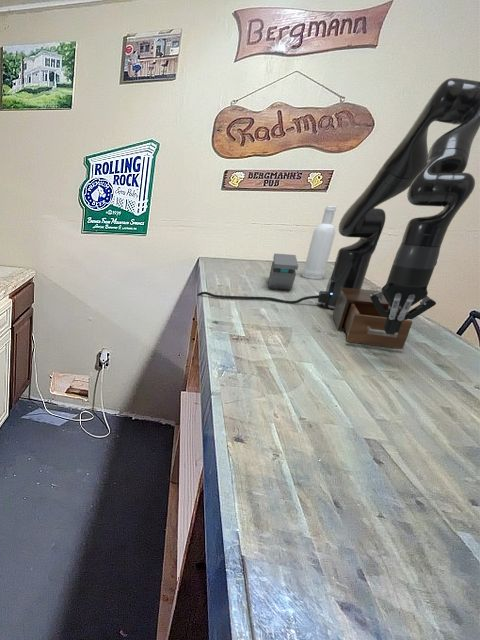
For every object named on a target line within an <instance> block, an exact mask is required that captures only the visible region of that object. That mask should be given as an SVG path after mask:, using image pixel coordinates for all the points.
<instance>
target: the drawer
mask: <svg viewBox="0 0 480 640" xmlns="http://www.w3.org/2000/svg"><path fill="white" fill-rule="evenodd" d="M383 308H384V309H385V310H386V311H388V307H386V306H383ZM397 311H398V310H397ZM396 313H397V312H396ZM386 319H387V318H386V317H384V316H381V315H380V313H379V312H378V310H377V308H376V307H375V305H368V304H358V303H350V304H349V308H348V311H347V314H346V317H345V321H344V324H343V326H344V328H345V330H346V331H345V333H346V335H347V336H346V339H345V341H346V342H348V343H355V344H363V345H370V346H377V347H384V348H391V349H397V350H398V349H399V350H403V349H404V347H405V344H406V342H407V338H408V336H409V333H410V331H411V328H412V325H413V322H414V321H413V319H406V320H403V321H402V324H401V326H400V329H399V331H398V332H397V333H395V334H394V335H391V334H386V332H385V331H384V328H383V327H384V324H385V322H386Z"/></svg>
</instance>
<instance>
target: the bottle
mask: <svg viewBox="0 0 480 640" xmlns="http://www.w3.org/2000/svg"><path fill="white" fill-rule="evenodd" d="M336 211H337V206H336V205H326V206H325V208H324V213H323V215H322V220H321V223H320V224H318V225H317V226H316V227H315V228H314V230H313V232H312V236H311V241H310V244H309V248H308V252H307V255H306V256H307V257H306V260H305V263H304V267H303V270H302V275H301V276H302V277H303V278H306V279H311V280H322V279H324V276H325V273H326V268H327V265H328V261H329V258H330V253H331V250H332V246H333V243H334V239H335V236H336V227H335V225H334V224H333V221H334V217H335V213H336Z"/></svg>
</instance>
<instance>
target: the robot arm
mask: <svg viewBox="0 0 480 640" xmlns="http://www.w3.org/2000/svg"><path fill="white" fill-rule="evenodd" d="M434 122H439V123H444V124H449V125H450V124H451V125H454V126H456V127H453V128H451V129H450V130H448V131H447V132H445V133H444V134H442V135H441V136H439V137H438V138H437V139H436V140H435V141H434V142H433V143H432V145H431V147H430V148H428V133H429V128H430V125H431V124H433V123H434ZM479 129H480V81H479V80H473V79H472V80H471V79H466V78H457V77H451V78H447V79H445V80H444V81H442V82H441V83H440V84H439V86H437V88H436V89H435V91H434V92H433V93H432V94H431V96H430V97H429V100H427V102H426V104H425V105H424V107H423V108H422V109H421V112H419V114H418V116H417V117H416V119H415V121H414V122H413V124H412V125H411V127H410V128H409V130H408V131H407V133H406V134H405V135H404V137H403V138H402V140H401V141H400V142H399V144H398V145H397V146H396V147H395V149H394V150H393V151H392V152H391V154H390V155H389V156H388V158H387V159H386V161H384V163H383V164H382V166H381V167H380V168H379V170H378V171H377V173H376V174H375V176H373V178H372V180H371V181H370V183H368V185H367V187H366V188H365V189H364V190H363V192H362V193H361V194H360V196H358V197H357V198H356V200H355V201H354V202H353V203H352V204H351V205H350V206H349V207H348V208H347V210H346V211H345V212H344V214H343V215H342V217H341V218H340V221H339V224H338V233H339V234H340V236H342V237H345V238H359V239H358V240H357V241H356V242H354V243H352V244H350V245H347V246H343V247H341V248H339V249H338V251H337V254H336V258H335V262H334V265H333V268H332V272H331V275H330V277H329V279H328V281H327V285H326V289H325V291H324V290H319V293H318V295H317V294H316V295H308V296H303V297H301V298H299V299H297V300H285V299H281V298H275V297H271V296H270V297H269V296H249V295H248V296H245V295H243V296H242V295H224V294H223V295H221V294H220V295H219V294H215V293H211V292H208V291H201V292H199V293H197V294H196V296H198V297H200V296H202V295H207V296H209V297H212V298H215V299H216V298H217V299H235V300H236V299H237V300H265V301H274V302H278V303H283V304H299V303H301V302H302V301H305V300H313V299H317V303H321V305H322V307H323V309H325V308H326V309H330V310H334V308H335V305H336V301H337V298H338V294H339V291H340V288H341V287H343V288H353V289H363V288H362V287H363V285H364V282H365V281H364V280H365V278H366V275H367V271H368V268H369V265H370V262H371V259H372V256H373V254H374V252H375V251H376V248H377V246H378V242H379V241H380V240H379V239H380V237H381V235H382V233H383V230H384V227H385V223H386V217H387V216H386V212H385V210H384V209H383V208H378V206H379V205H381V204H383V203H385V202H387V201H389V200H391V199H393V198H394V197H396V196H398V195H401V193H403V192H405V191H407V193H406V194H407V195H406V197H407V201H408V202H409V203H410V204H411V205H413V206H416V207H417V206H418V207H439V208H440V207H443V208H442V210H441V211H439V212H438V213H436V214H432V215H425V216H419V217H413V218H411V219H410V220H409V221H408V223H407V225H406V228H405V231H404V233H403V236H402V238H401V239H402V240H401V243H400V245H399V247H398V249H397V251H396V252H395V256H394V259H393V262H392V265H391V268H390V270H389V274H388V277H387V280H386V283H385V285H383V286H382V287H381V290H378V291H379V292H377V293H371V294H370V295H369V297H370V299H371V300H372V302H373V303H374V305H375V307H376V308H377V310H378V312H379V313H380V315H381V316H384V317H386V318H387V319H386V322H385V324H384V327H383V328H384V331H385V332H386V334H391V335H394V334H395V333H397V332H398V331H399V329H400V326H401V324H402V321H403V320H406V319H407V320H413V319H415V318H417V317H418V316H420V315H422V314H423V313H425V312H426V311H428V310H430V309H431V308H433V307H435V306H436V305H437V302H436V301H435V300H434V299H433V298H430V297H429V296H428V293H429V292H428V286H429V284H430V281H431V279H432V276H433V273H434V270H435V267H436V266H437V264H438V260H439V256H440V251H441V246H442V244H443V241H444V239H445V235H446V233H447V231H448V229H449V226H450V225H451V223H452V221H453V219H454V218H455V216H456V215H457V213H458V212H459V210H460V209H461V208H462V207H463V206H464V204H465V203H466V202H467V200H468V199H469V197H470V196H471V195H472V193H473V191H474V189H475V186H476V180H475V177H474V175H473V174H471V173H470V172H465V170H466V168H467V166H468V162H469V158H470V154H471V153H470V152H471V148H472V144H473V142H474V139H475V137H476V135H477V133H478V132H479ZM376 207H377V208H376ZM382 295H384V297H385V298H386V300H387V302H388V303H389V306H388V311H386V310H385V309H384V308H383V306H382V304H381V303H380V301H381V300H382ZM418 303H419V304H418ZM416 304H418V305H416ZM414 305H416V306H415V307H413V308H412V309H410V308H411V307H412V306H414ZM398 307H399V308H398ZM397 310H398V311H397ZM396 312H397V313H396Z"/></svg>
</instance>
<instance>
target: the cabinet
mask: <svg viewBox="0 0 480 640" xmlns="http://www.w3.org/2000/svg"><path fill="white" fill-rule="evenodd" d="M379 291H380V290H375V289H374V290H373V289H363V288H361V289H353V288H343V287H341V288H340V291H339V294H338V298H337V301H336V305H335V308H334V309H333V312H332V318H333V321H334V324H335V326H336V330H337V331H342V332H346V330H345V328H344V326H343V324H344V321H345V317H346V314H347V311H348V308H349V304H350V303H358V304H368V305H374V303H373V302H372V300H371V299H370V297H369V295H370V294H371V293H377V292H379ZM380 303H381V304H382V306H386V307H388V306H389V303H388V302H387V300H386V298H385V297H384V295H382V300H381V301H380ZM398 308H399V307H398Z"/></svg>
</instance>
